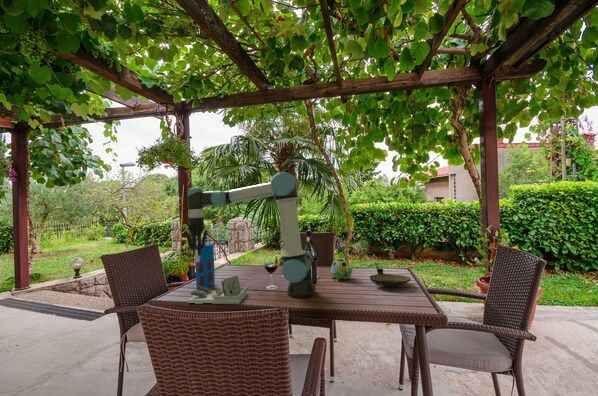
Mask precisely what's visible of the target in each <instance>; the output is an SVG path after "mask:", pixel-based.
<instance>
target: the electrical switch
mask: <svg viewBox="0 0 598 396" xmlns="http://www.w3.org/2000/svg"><path fill="white" fill-rule="evenodd" d="M240 284H241V283H240V279H239V276H238V275H234V276H230V277H226V278H224V279H223V280H222V281H221V287H222V289H223V292H224V296H233V295H236V294H239V293H241V288H242V287H241V285H240ZM224 288H225V289H224Z"/></svg>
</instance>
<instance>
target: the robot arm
mask: <svg viewBox="0 0 598 396" xmlns="http://www.w3.org/2000/svg"><path fill="white" fill-rule="evenodd" d="M299 189H300V181H299V180H298V177H296V176H295V175H293V174H291V173H289V172H287V171H282V172H278V173H276V174H275V175H273V176H272V178H271V181H270V182H264V183H260V184H256V185H255V184H254V185H250V186H245V187H241V188H235V189H230V190H224V191H223V190H211V191H204V190H203V188H201V187H190V188H188V190H187V203H188V204H187V207H188V209H187V210H188V212H187V213H188V227H187V229H186V230H184V231H183V233H184V234H185V236H186V240H187V245H188V247H189V249H191V250H192V252H193V253H192V255H193V257H194V261H195V262H194V263H196V262H200V255H201V249H202V248H204V247H205V244H207V237H208V234H209V231H210V230H209V229H206V228H205V223H204V222H205V221H204V220H205V219H204V207H205V206H206V207H207V206H209V207H210V206H228V205H231V204H235V203H241V202H246V201H252V200H256V199H262V198H266V197H267V198H268V197H274V201H275V202H276V203H277V204H278V211H279V218H280V226H281V231H282V232H281V233H282V239H283V248H284V252H283V253H282V264H283V265H282V268H281V274H282V276H283V278H284V279H285V280H286V281H287V282H289V283H288V287H287V291H286V293H287V295H288V296H289V297H292V298H302V299H303V298H308V297H312V296H314V295H315V294H316V287H315V284H314V281H313V278H312V276H313V275H312V271H313V270H312V253H311V251H310V250H303V247H302V240H301V233H300V231H301V230H300V225H299V217H298V216H299V215H298V210H297V204H296V203H297V200H298V198H299V195H298V191H299ZM202 234H203V235H202ZM197 247H198V249H197Z"/></svg>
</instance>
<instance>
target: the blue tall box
mask: <svg viewBox="0 0 598 396" xmlns="http://www.w3.org/2000/svg"><path fill="white" fill-rule="evenodd" d="M214 247H215V246H214V244H213V243H205V247H204V248H202V249H201V255H200V262H195V284H196V288H197V287H198V286H199V285H201V286H204V287H206V288H209V289H211V288H213V287H214V286H215V281H216V280H215V277H216V276H215V275H216V274H215V248H214ZM197 249H198V247H197Z"/></svg>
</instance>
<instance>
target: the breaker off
mask: <svg viewBox="0 0 598 396" xmlns="http://www.w3.org/2000/svg"><path fill="white" fill-rule="evenodd" d="M196 290H197V291H203V292H206V293H211V292H212V291H213V289H211V288H206V287H204V286H201V285H199V286H198V287H197V286H196Z"/></svg>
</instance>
